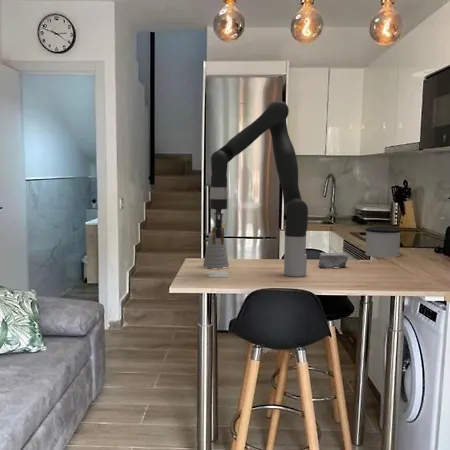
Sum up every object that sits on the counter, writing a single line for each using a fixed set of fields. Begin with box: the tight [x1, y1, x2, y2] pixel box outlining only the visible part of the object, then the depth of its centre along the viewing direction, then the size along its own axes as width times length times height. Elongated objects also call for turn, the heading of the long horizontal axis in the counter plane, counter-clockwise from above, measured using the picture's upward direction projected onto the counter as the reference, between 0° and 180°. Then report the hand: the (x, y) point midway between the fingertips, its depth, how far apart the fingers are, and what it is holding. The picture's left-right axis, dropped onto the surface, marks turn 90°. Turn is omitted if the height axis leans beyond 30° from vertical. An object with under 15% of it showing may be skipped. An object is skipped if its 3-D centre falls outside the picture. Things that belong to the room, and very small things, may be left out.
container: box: [364, 226, 402, 258], centre depth 268 cm, size 19×19×15 cm
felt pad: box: [208, 271, 229, 278], centre depth 207 cm, size 8×11×1 cm
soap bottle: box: [202, 223, 230, 269], centre depth 226 cm, size 12×12×20 cm
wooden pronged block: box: [211, 226, 225, 245], centre depth 205 cm, size 5×5×7 cm
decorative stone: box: [318, 252, 349, 269], centre depth 228 cm, size 15×7×10 cm
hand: (218, 237), depth 205 cm, fingers closed on wooden pronged block, 5 cm apart
